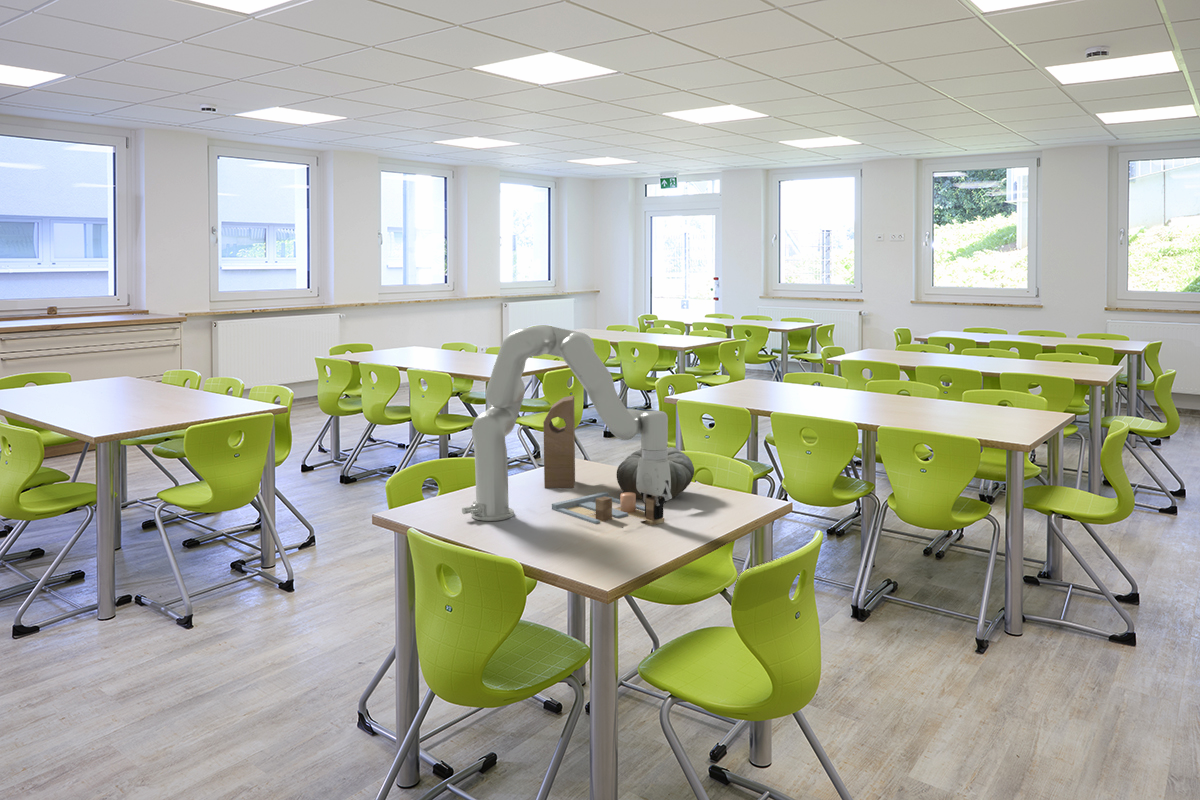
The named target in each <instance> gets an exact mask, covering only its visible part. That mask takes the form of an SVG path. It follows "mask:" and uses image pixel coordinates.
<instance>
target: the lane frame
mask: <svg viewBox="0 0 1200 800" xmlns="http://www.w3.org/2000/svg"><path fill="white" fill-rule="evenodd" d="M600 497H609V498H612V503H615V504H619V505H620V498H617V497H613V496H610V493H609V492H607V491H602V492H597V493H592V494H589V495H585V496H581V497H580V496H579V497H575V498H572V499H567V500H562V501H559V502H555V503H551V510H552V511H554V512H558V513H562V514H565V515H567V516H570V517H573V518H577V519H579V520H582V521H586V522H588V523H591V524H595V525H596V524H600V523H601V522H600V520H598V519H594V518H591V517H588V516H589V515H593V514H596V498H600ZM636 509H637V510H640V511H643V512H645V505H644V506H643V505H640V504H637V503H636ZM628 516H629V515H628V513H626V512H623V511H620V510H617V509H614V508H613V507H612V518H613V519H620V518H624V517H628Z"/></svg>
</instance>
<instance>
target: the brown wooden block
mask: <svg viewBox="0 0 1200 800" xmlns="http://www.w3.org/2000/svg"><path fill="white" fill-rule="evenodd" d="M595 503H596V511H595V512H596V513H593V514H589V515H587V516H588V517H591V518H594V519H598V520H600V523H601V522H605V521H609V520H613V519H614V517H612V508H613V502H612V498H609V497H600V498H596V501H595Z"/></svg>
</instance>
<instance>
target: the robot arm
mask: <svg viewBox="0 0 1200 800" xmlns="http://www.w3.org/2000/svg"><path fill="white" fill-rule="evenodd" d="M594 344H595V343H594V340H593V339H592V338H591V337H590V336H589V335H588V334H586V333H585V332H580V331H576V330H570V329H565V328H562V327H561V328H560V327H556V326H552V325H546V324H540V325H535V326H529V327H524V328H519V329H517V330H515V331H512V332H511V333H509V334H508V335H507V336H506V337H505V339H504V340H502V343H501V345H500V348H499V350H498V354H497V357H496V359H495V362H494V365H493V368H492V371H491V374H490V378H489V381H488V383H487V386H486V390H485V398H486V401H487V403H488V407H487V409H486V410H485V411H482V412H481V413H480V414H478V415H477V416H476V418H475V419H474V421H473V423H472V426H471V437H472V442H473V450H474V466H475V467H474V468H475V470H474V471H475V499H476V500H475V501H473V502H472V504H471V506H466V507H462V508H461V513H462V514H463V515H467V514H470V515H471V518H473V519H474V520H477V521H481V522H482V521H483V522H495V521H496V522H497V521H504V520H508V519H511V518H512V517H513V516H515V511H514V509H513V508H512V507H509V475H508V474H509V471H508V469H509V468H508V465H509V464H508V449H507V444H506V437H507V436H508V435H509V434H511V432H512V431H513V430H514V428H515V425H516V422H517V420H518V416H519V413H520V410H521V407H522V403H523V401H524V397H525V394H526V387H525V383H524V381H523V379H522V375H523V374H524V370H525V368H526V362H527V360H528V359H529V358H531V357H540V356H543V355H550V356H552V357H553V356H554V357H559V358H562V359H563V361H564V362H565V364H566V365H567V366H568V368H569V369H570V370H571V372H572V373H573V375H574V377H576V379H577V380H578V381H579V383H580V384H581V386H582V387H583V389H584V390H585V392H586V393H587V395H588V397H589V400H590V401H591V403H592V405H593V406H594V408H595V410H596V412H597V414H598V416H599V417H600V419H601V420H602V422H603V423H604V424H605V425H606V427H607V428H608V430H609V431H610V433H611V434H612V435H613V436H614V437H616V438H617V439H619V440H621V441H628V440H631V439H633V438H634V437H635V436H636V435H638V434H640V435H641V437H640V440H641V441H640V444H641V445H640V446H641V447H640V449H639V450H640V451H641V457H640V458H639V462H638V468H637V479H636V488H637V491H638V492H639V493H640V494H641V496H642V497H643V499H642V500H643V503H644V507H645V511H644V512H645V516H646V498H650V497H653V496H655V503H656V505H655V506H654V519H660V518H664V505H666V503H667V501H669V500H671V499H673V498H672V495H671V493H670V490H671V475H670V466H669V461H668V458H667V457H668V448H669V447H668V444H669V443H668V442H669V441H668V440H669V439H668V436H669V435H668V434H669V433H668V432H669V431H668V429H669V424H668V423H669V422H668V421H669V418H668V414H667V412H665V411H663V410H641V409H634V408H627V407H626V406H625V405H624V403H623V401H622V400H621V399H620V397H619V395H618V393H617V391H616V388H615V383H614V379H613V376H612V374H611V372H610V371H609V369H608V368H607V367H606V365H605V364H604V362H603V361H602V360H601V358H600V357H599V356H598V354H597V352H596V351H595V345H594ZM659 497H661V499H659Z"/></svg>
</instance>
